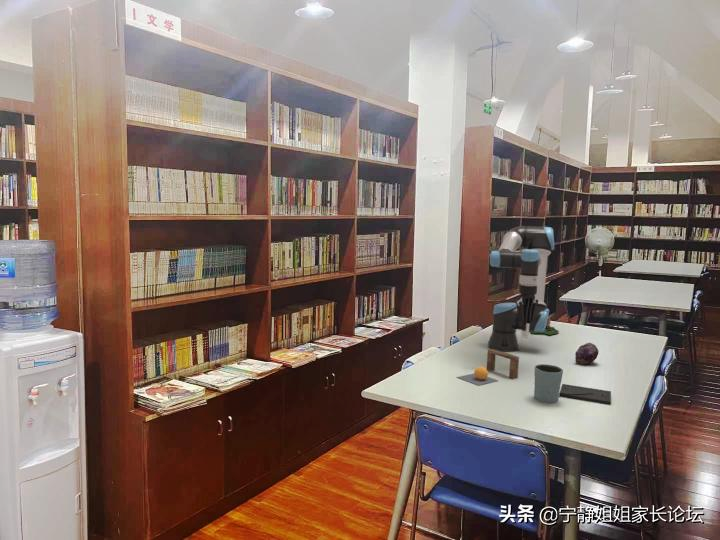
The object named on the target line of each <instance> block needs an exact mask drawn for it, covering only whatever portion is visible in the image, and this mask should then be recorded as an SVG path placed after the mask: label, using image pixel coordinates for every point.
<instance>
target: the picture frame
mask: <svg viewBox="0 0 720 540" xmlns="http://www.w3.org/2000/svg"><path fill="white" fill-rule="evenodd" d="M559 397H560V398H566V399H571V400H578V401H583V402H590V403H595V404H600V405H601V404H603V405H608V406H611V403H612V402H611V401H612V391H610V390H604V389H600V388H599V389H597V388H592V387H587V386H586V387H585V386H580V385H579V386H578V385H571V384H565V383H561V386H560V390H559Z"/></svg>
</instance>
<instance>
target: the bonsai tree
mask: <svg viewBox="0 0 720 540" xmlns="http://www.w3.org/2000/svg"><path fill="white" fill-rule="evenodd" d="M519 285H521V284H520V283H519ZM555 294H556V293H555V291H554V290H547V294H546V295H545V293H544V301H545V302H544V303H545V304H546V305H550V304H551V303H552V301H551V300H547V299H549V297H550V298H551V299H553V298H554V297H555V296H556V295H555ZM546 301H548V302H546ZM552 319H553V317H552V316H551V317H550V316H548V320H547V324H546V328H545V330H544V331H542V332H540V331H535V332H534V331H529V333H530V334H531V335H534V334H537V335H538V334H544V335H546V336H553V335H554V334H555V335H557V334H559V330H558V329H556V328H555V327H554V326H553V327H552V326H551V320H552Z"/></svg>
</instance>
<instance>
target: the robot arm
mask: <svg viewBox="0 0 720 540" xmlns="http://www.w3.org/2000/svg"><path fill="white" fill-rule="evenodd" d="M554 235H555V234H554V229H553V227H550V226H545V225H544V226H534V225H533V226H531V225H521V226H517V227H516V226H515V227H513V228H512V229H509V230H508V231H507V232H506V233H505V234H504V236H503V237H502V243H501V245H500V247H499V249H498V250H492V251H491V252H490V254H489V264H490V266H491V267H493V268H504V269H505V268H506V269H508V268H509V269H520V273H519V279H518V280H519V281H518V283H519V284H518V293H519V294H520V296H519V300H516V301H515V302H501V303H497V304H495V305H494V306H493V312H492V314H493V317H492V330H491V335H490V337H489V341H488V342H487V343H488V344H487V347H488V348H489V349H495V350H498V351H502V352H517V351H518V350H519V342H518V337H517V333H516V332H517V330H519V331H520V330H521V333H520V334H521V336H520V337H521V338H524V339H529V336H530V335H529V334H530V331H534V332H535V331H540V332H542V331H544V330H545V328H546V324H547V320H548V318H549V313H550V309H549V308H547V304H545V303H546V302H544V301H545V300H544V296H545V295H544V294H545V291H546V280H547V279H546V278H547V266H548V257H549V256H550V255H551V254H552V251H554V250H555V238H554ZM517 249H522V250H521V251H517ZM520 284H521V285H520Z"/></svg>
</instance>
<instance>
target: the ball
mask: <svg viewBox="0 0 720 540" xmlns="http://www.w3.org/2000/svg"><path fill="white" fill-rule="evenodd" d="M473 374H475V377H476V378H477V379H479V380H484V379H486V378H487V377H489V372H488V370H487V367H484V366H478V367H476V369H474V373H473Z"/></svg>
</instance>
